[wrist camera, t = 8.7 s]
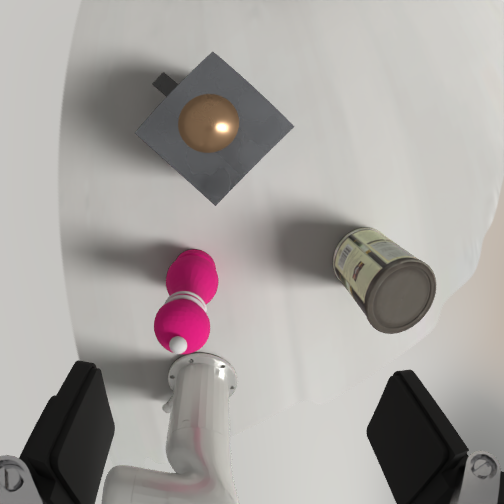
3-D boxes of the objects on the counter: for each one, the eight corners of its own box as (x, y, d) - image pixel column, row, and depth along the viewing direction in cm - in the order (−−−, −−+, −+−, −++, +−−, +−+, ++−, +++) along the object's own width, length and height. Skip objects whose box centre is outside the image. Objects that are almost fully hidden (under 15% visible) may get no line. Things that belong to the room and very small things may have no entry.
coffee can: (388, 282, 51) (429, 325, 38) (331, 291, 51) (363, 340, 38) (392, 224, 48) (442, 255, 34) (332, 229, 47) (369, 265, 34)
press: (219, 182, 44) (215, 205, 29) (153, 121, 40) (113, 114, 25) (270, 130, 42) (294, 126, 27) (203, 69, 38) (190, 33, 23)
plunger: (218, 171, 38) (210, 196, 21) (175, 132, 36) (135, 128, 19) (259, 129, 36) (284, 122, 20) (216, 90, 34) (208, 53, 18)
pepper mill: (162, 258, 47) (126, 335, 28) (204, 237, 46) (189, 306, 27) (186, 297, 49) (167, 386, 31) (227, 278, 49) (228, 363, 30)
